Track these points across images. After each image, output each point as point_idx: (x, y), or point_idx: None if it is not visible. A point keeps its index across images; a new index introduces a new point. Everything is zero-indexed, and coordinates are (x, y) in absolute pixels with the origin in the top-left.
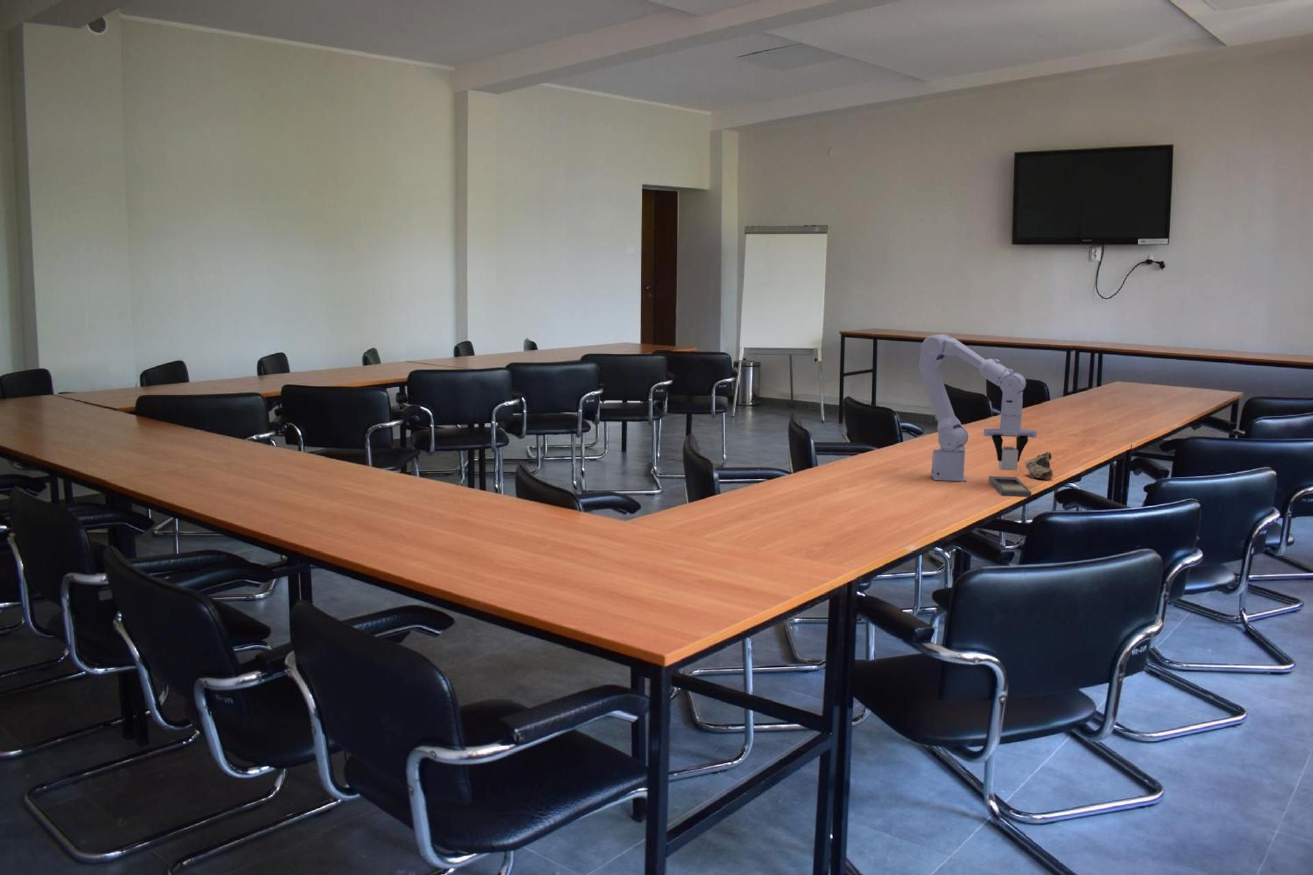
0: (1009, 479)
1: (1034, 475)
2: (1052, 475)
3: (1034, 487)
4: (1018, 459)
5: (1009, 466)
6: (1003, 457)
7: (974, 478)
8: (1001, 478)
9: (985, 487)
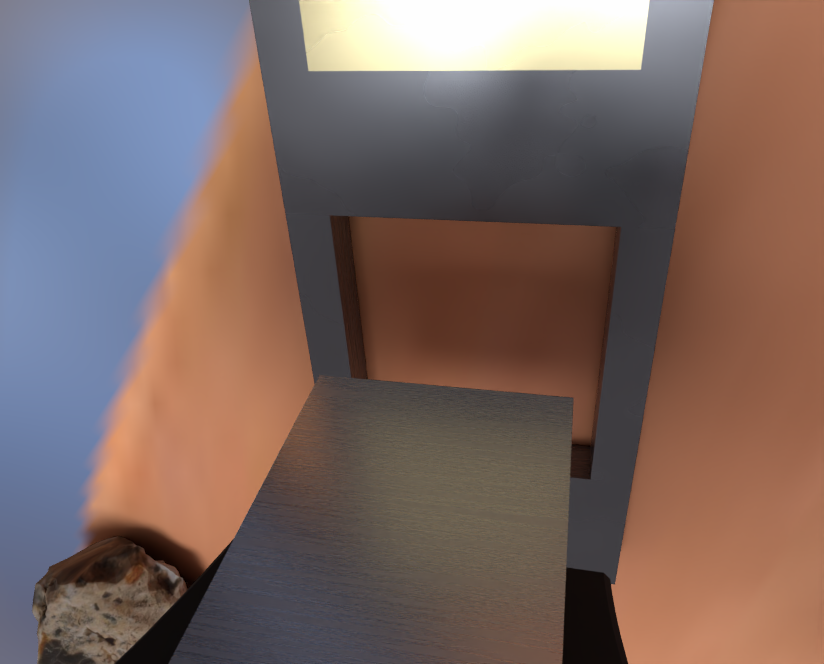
0: None
1: None
2: (52, 565)
3: (186, 269)
4: None
5: (426, 429)
6: (533, 585)
7: (739, 607)
8: None
9: (813, 196)
